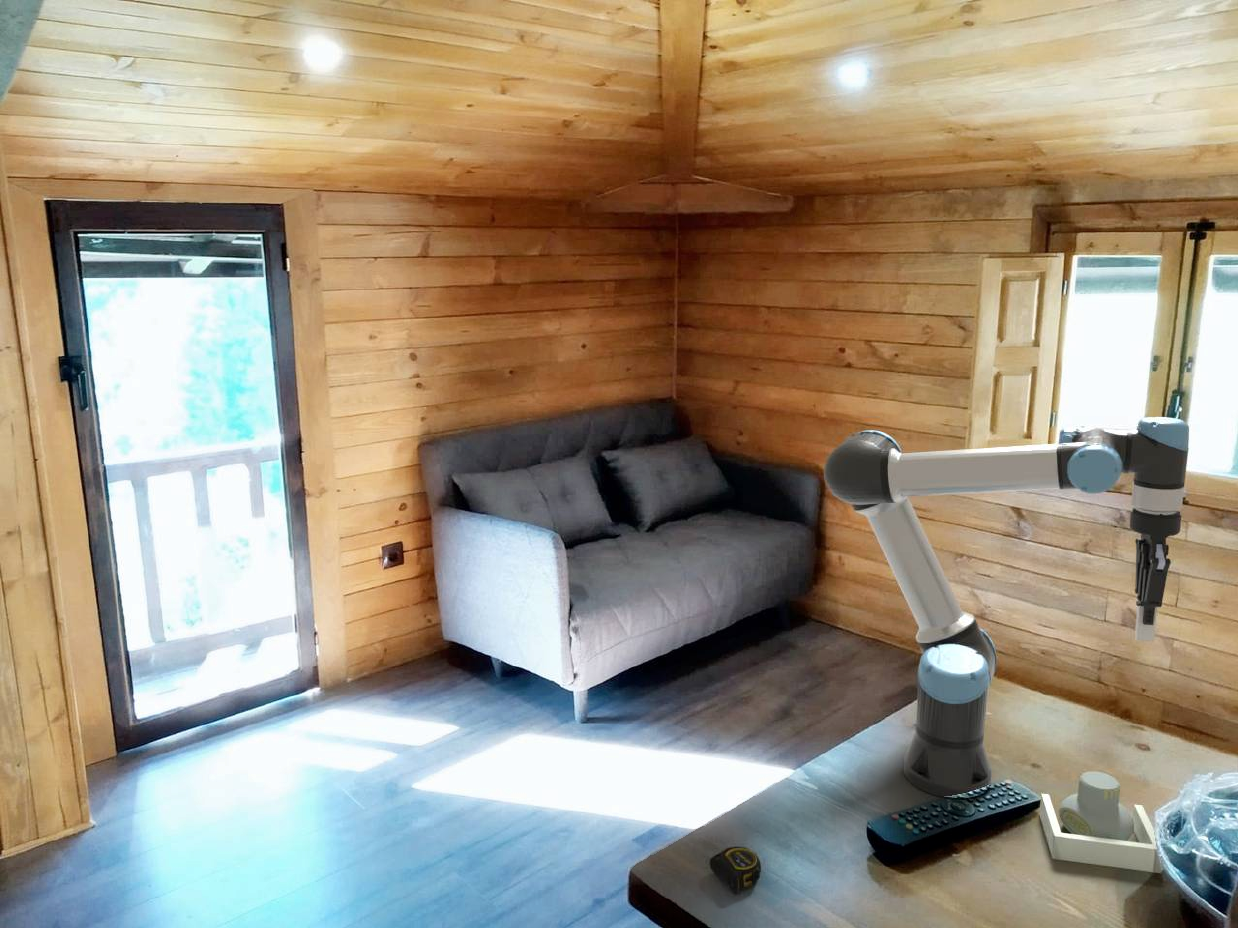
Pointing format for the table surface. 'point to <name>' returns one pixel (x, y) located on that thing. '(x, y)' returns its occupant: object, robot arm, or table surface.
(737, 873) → the tape measure
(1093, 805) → the air freshener
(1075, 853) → the dock
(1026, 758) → the table surface
